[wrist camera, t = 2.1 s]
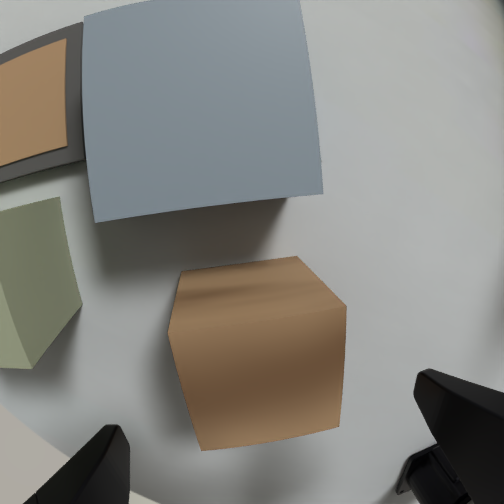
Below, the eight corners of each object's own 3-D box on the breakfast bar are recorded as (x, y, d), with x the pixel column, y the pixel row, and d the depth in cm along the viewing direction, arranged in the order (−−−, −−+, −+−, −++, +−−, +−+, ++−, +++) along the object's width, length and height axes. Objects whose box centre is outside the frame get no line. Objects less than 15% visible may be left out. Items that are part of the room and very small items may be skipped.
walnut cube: (300, 351, 15) (338, 426, 10) (200, 367, 15) (201, 450, 10) (296, 255, 14) (346, 306, 9) (181, 270, 14) (167, 333, 8)
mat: (89, 159, 12) (83, 158, 11) (-18, 189, 11) (-26, 190, 10) (86, 26, 10) (81, 21, 9) (-19, 70, 9) (-27, 67, 9)
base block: (290, 186, 13) (323, 193, 10) (126, 207, 13) (95, 223, 9) (274, 34, 12) (297, -8, 8) (114, 52, 11) (84, 16, 7)
